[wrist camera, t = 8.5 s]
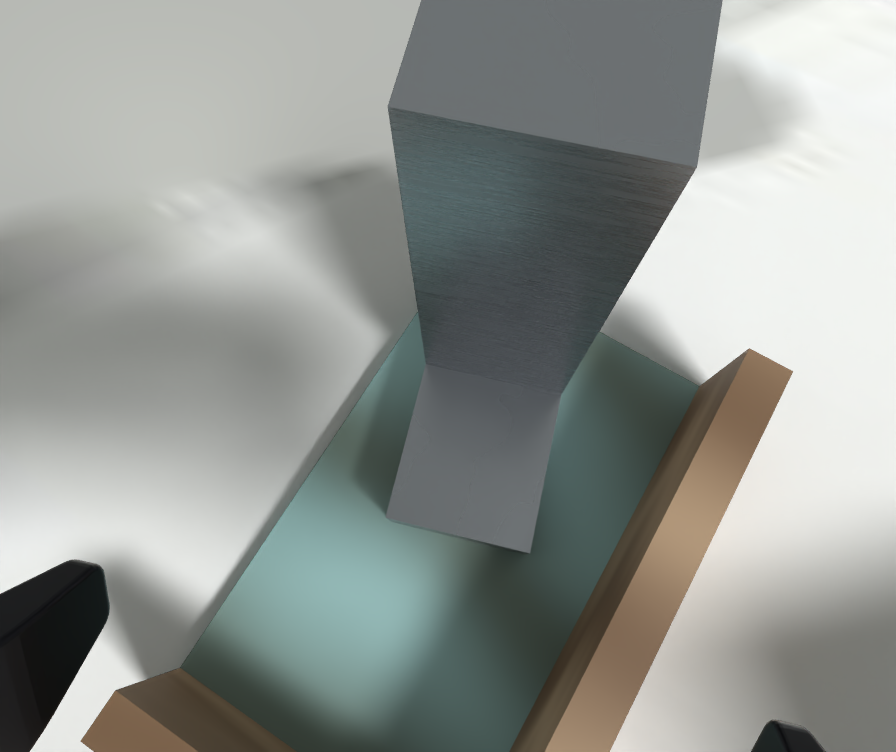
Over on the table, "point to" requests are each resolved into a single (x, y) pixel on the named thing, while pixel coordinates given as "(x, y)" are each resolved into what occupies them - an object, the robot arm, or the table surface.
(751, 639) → the table surface
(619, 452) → the tray
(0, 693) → the robot arm
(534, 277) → the angle bracket
